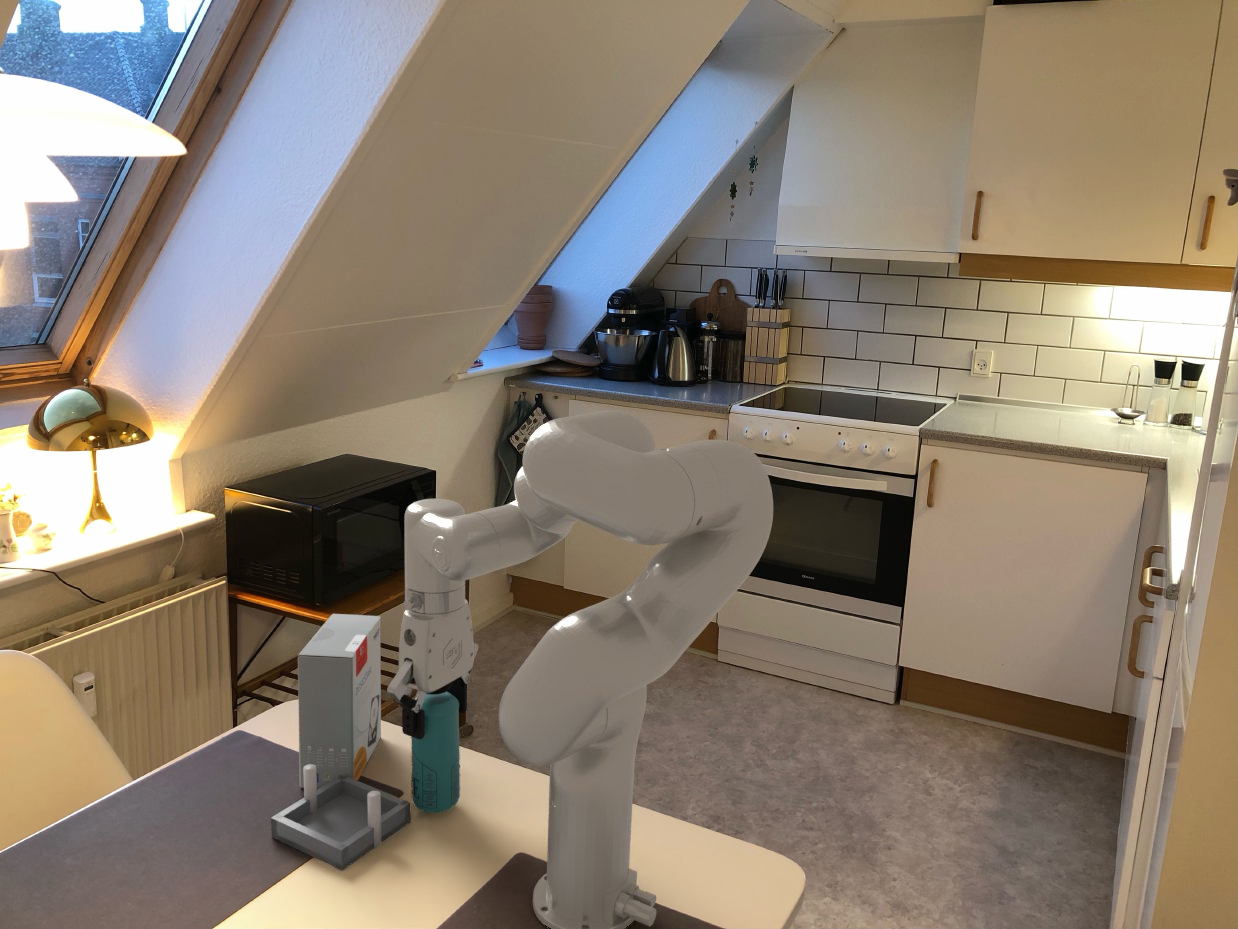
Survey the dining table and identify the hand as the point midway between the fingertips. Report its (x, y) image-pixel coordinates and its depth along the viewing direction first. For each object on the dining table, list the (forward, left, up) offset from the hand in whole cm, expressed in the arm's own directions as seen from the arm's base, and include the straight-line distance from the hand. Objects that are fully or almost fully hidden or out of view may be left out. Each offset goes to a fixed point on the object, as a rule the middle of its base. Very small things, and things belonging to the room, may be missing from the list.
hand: (435, 721), depth 129 cm
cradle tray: (+7, +10, -13) cm, 18 cm away
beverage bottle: (0, 0, -13) cm, 13 cm away
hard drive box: (+19, -2, -13) cm, 23 cm away
